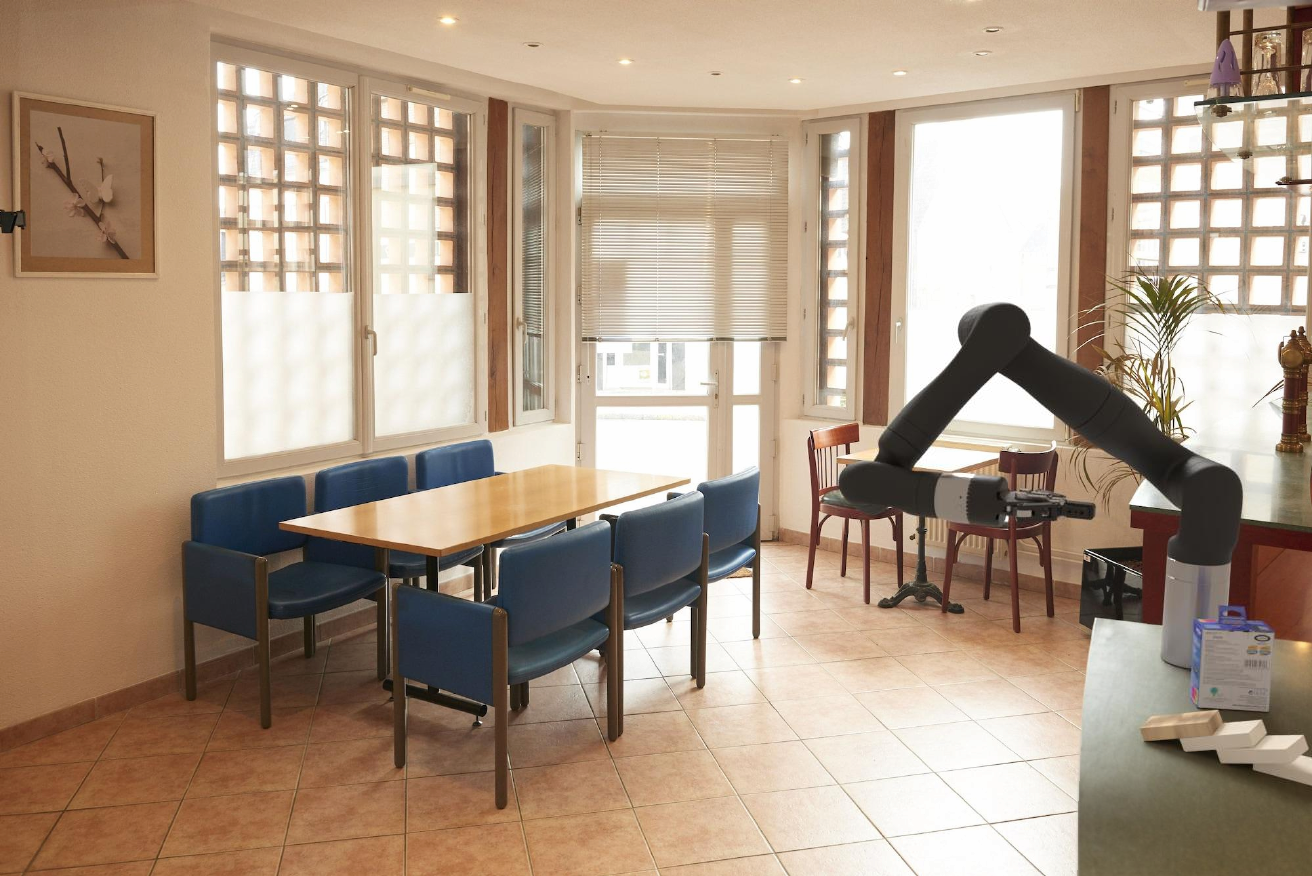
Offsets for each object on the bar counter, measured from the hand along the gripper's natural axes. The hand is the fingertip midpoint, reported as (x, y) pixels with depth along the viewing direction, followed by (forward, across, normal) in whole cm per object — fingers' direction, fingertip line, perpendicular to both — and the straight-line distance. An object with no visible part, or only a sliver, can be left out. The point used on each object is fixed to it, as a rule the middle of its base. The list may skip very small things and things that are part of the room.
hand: (1094, 511), depth 150 cm
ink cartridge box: (+18, +14, +30) cm, 38 cm away
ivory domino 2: (+19, -5, +29) cm, 35 cm away
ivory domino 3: (+22, -5, +30) cm, 37 cm away
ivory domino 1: (+14, -4, +29) cm, 33 cm away
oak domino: (+9, -3, +29) cm, 31 cm away
